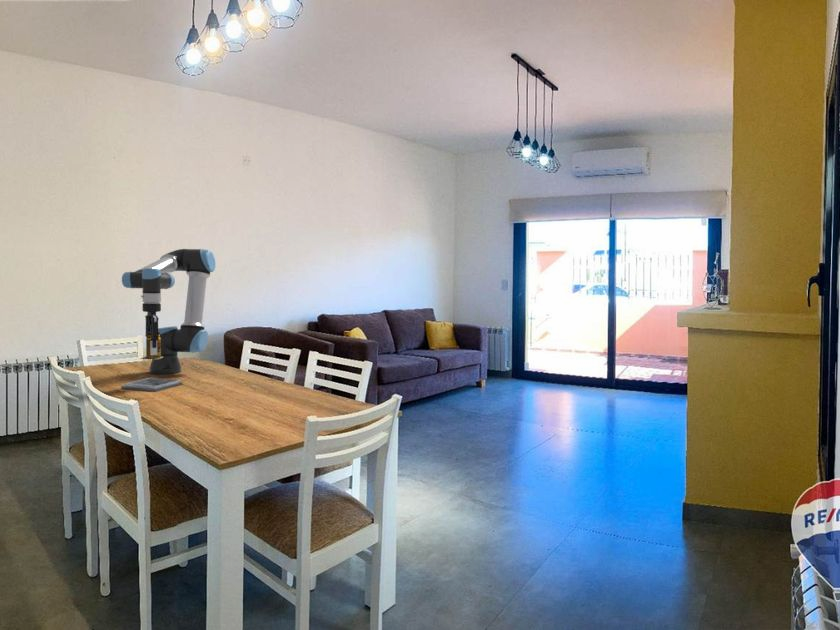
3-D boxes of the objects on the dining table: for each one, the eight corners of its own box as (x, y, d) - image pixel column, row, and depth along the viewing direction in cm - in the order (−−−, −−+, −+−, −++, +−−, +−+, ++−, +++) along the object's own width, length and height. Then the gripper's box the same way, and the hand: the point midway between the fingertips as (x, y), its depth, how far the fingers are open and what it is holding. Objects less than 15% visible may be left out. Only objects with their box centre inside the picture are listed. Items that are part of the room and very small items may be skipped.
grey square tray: (150, 381, 286) (150, 377, 286) (182, 384, 281) (182, 379, 281) (121, 388, 269) (121, 383, 269) (155, 391, 264) (154, 386, 264)
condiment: (159, 359, 271) (158, 332, 270) (139, 359, 270) (138, 332, 269) (163, 357, 279) (163, 331, 278) (144, 357, 277) (144, 330, 277)
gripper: (137, 301, 278) (138, 352, 279) (147, 304, 262) (148, 357, 264) (155, 301, 282) (155, 351, 284) (165, 303, 267) (166, 356, 268)
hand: (152, 353), depth 274 cm, fingers closed on condiment, 6 cm apart
